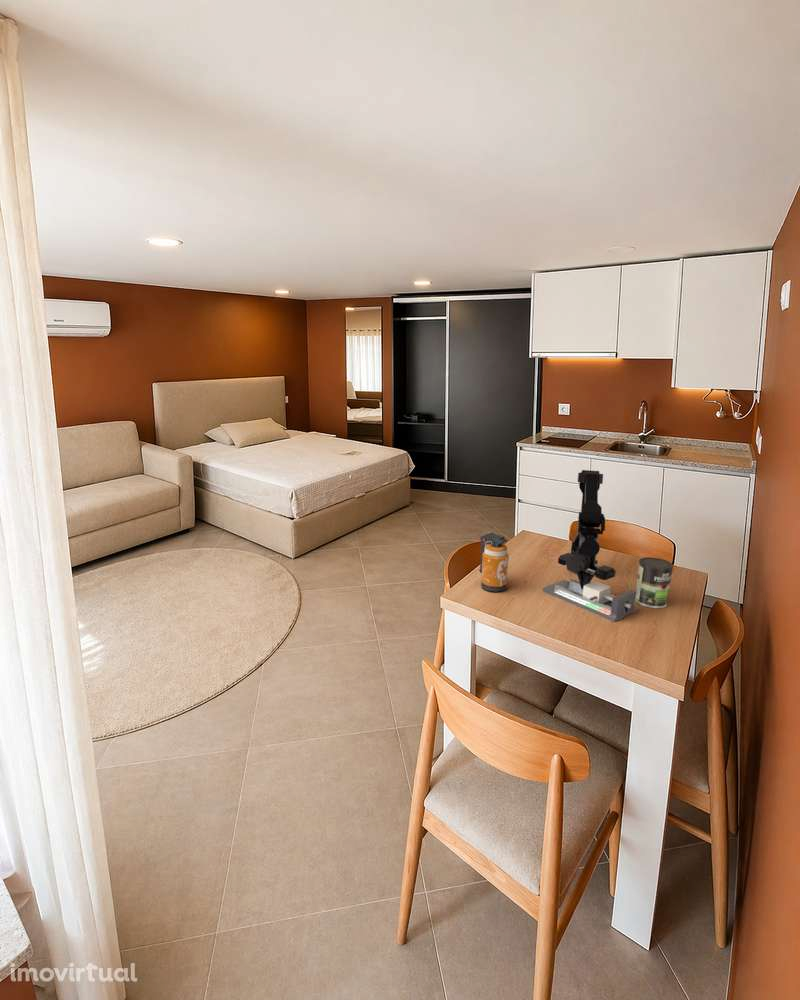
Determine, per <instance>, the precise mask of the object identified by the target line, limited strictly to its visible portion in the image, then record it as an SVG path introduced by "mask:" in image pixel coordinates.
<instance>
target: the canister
mask: <svg viewBox="0 0 800 1000" xmlns="http://www.w3.org/2000/svg"><path fill="white" fill-rule="evenodd" d="M479 538H480V543H481V545H480V564H479V565H480V567H479V569H478V571H479V573H480V575H481V578H480V579H481V583H480V587H481V588H483V590H486V591H489V592H496V593H497V592H502V591H505V590H506V589H507V587H508V573H509V572H508V571H509V556H510V555H509V553H508V547H507V545H506V544H504V543H506V542H508V539H507V538H506V537H505V536H503V535H498V534H495V532H493V531H491V532H490V533H486V534H484V535H482V536H480V537H479Z"/></svg>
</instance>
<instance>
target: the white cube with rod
mask: <svg viewBox="0 0 800 1000" xmlns="http://www.w3.org/2000/svg"><path fill="white" fill-rule="evenodd" d="M611 590H612V586H609V585H607V584H604V583H601V582H599V581H596V580H594V581H592V582H591V581H590V583H589V584H586V585H584V587H583V596H586V597H588V598H590V600H595V601H598V602H600V603H603V604H604V603H606V602H608V601H612V597H610V594H611ZM625 607H627V608H630V607H631V605H630V604H627V603H625Z"/></svg>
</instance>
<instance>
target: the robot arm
mask: <svg viewBox="0 0 800 1000" xmlns="http://www.w3.org/2000/svg"><path fill="white" fill-rule="evenodd" d="M603 482H604V474H603V473H600V470H589V469H587V470H586V469H581V471H580V472H577V483H578V487H579V489H580V492H581V494H582V496H581V507H580V511H579V512H578V517H577V518H578V519H577V532H576V534H575V535H574V536H573V541H571V543H570V544H571V546H570V552H567V553H563V554H561V555H558V557H557V563H558V564H560V565H561V566H566V570H567V571H569V572H573V573H575V574H576V575H577V578H578V582H580V586H581V589H582V590H583V587H584V585H586V584H589V583H591V581H592V579H593V578H594V577H595V578H597V579H599V580H602V581H608V580H610V579H613V578H614V577H616V570H615V569H614V568H613V567H610V566H607V565H602V566H598V565H597V564H598V563H599V562H598V560H596V558H597V555H598V554H599V553H600V551H601V549H600V542H599V541H600V540H599V535H603V534H604V532H605V531H606V517H605V514H604V513H602V506H601V505H600V504H599V502H598V501H599V499H598V498H599V494H598V493H599V492H598V491H600V488H601V487H600V486H601V485H603Z"/></svg>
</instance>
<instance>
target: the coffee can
mask: <svg viewBox="0 0 800 1000" xmlns="http://www.w3.org/2000/svg"><path fill="white" fill-rule="evenodd" d="M673 568H674V564H673V563H672V562H671V561H668V560H666V559H664V558H663V559H662V558H659V557H648V556H646V557H641V558H640V559H639V560H638V568H637V569H638V570H637V579H636V587H635V592H636V598H635V603H637V604H639V605H640V606H643V607H646V608H651V609H663V608H666V607H667V606H668V599H669V593H670V586H671V579H672V573H673Z"/></svg>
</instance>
